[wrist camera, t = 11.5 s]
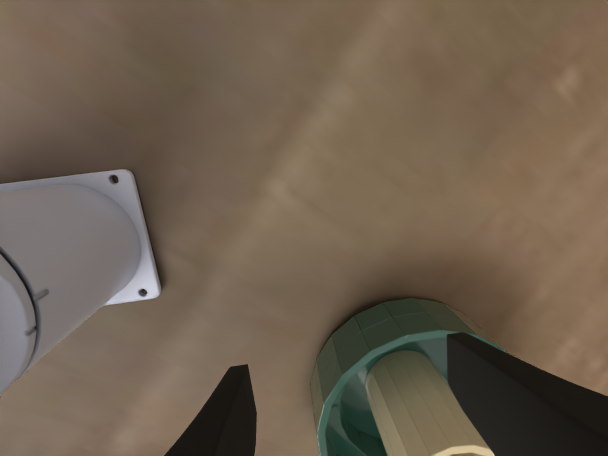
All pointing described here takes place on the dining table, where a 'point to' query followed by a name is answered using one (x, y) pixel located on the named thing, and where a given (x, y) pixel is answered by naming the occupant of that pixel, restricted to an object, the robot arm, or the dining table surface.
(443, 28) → the dining table surface
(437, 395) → the cup
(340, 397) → the bowl
